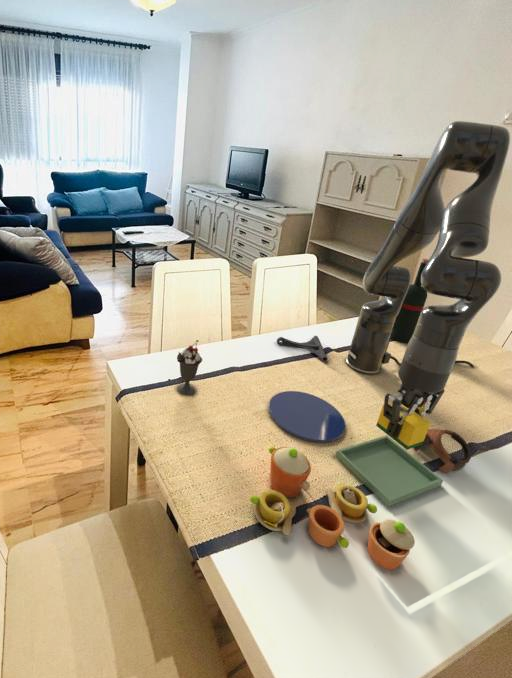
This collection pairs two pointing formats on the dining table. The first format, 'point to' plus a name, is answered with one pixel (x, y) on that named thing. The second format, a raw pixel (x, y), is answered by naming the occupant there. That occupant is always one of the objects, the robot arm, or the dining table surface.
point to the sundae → (188, 368)
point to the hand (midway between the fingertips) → (400, 432)
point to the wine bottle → (410, 309)
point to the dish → (388, 470)
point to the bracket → (306, 346)
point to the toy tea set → (327, 511)
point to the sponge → (407, 429)
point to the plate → (306, 416)
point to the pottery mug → (435, 438)
